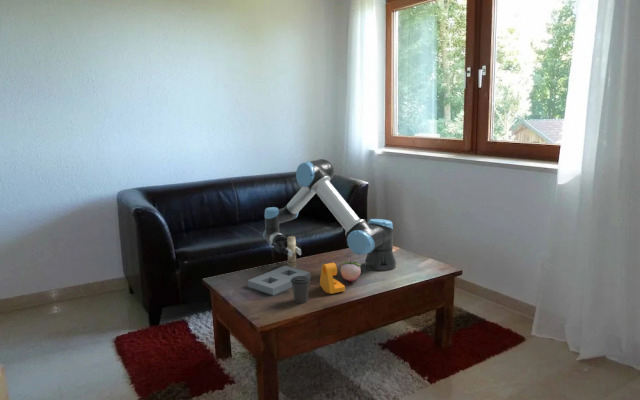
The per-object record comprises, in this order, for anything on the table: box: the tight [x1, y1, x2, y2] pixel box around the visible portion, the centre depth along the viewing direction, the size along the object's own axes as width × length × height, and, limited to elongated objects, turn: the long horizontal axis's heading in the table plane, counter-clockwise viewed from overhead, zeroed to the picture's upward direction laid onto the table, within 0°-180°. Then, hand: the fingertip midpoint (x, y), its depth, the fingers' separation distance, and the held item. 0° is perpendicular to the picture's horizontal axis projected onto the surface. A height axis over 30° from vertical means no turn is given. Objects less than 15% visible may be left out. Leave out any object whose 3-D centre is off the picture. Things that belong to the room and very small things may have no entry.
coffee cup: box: [291, 276, 311, 304], centre depth 197 cm, size 8×8×10 cm
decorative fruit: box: [339, 259, 362, 283], centre depth 216 cm, size 9×8×10 cm
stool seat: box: [247, 265, 312, 296], centre depth 218 cm, size 24×16×3 cm, turn 140°
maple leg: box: [286, 236, 297, 268], centre depth 237 cm, size 4×4×15 cm
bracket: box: [319, 262, 346, 295], centre depth 208 cm, size 11×7×12 cm, turn 24°
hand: (295, 253), depth 232 cm, fingers closed on maple leg, 4 cm apart
